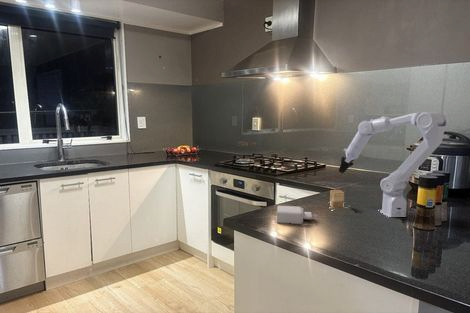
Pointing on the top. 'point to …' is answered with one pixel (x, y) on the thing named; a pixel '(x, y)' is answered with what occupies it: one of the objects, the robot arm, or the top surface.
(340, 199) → the oak block
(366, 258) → the top surface
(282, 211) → the white bottle
